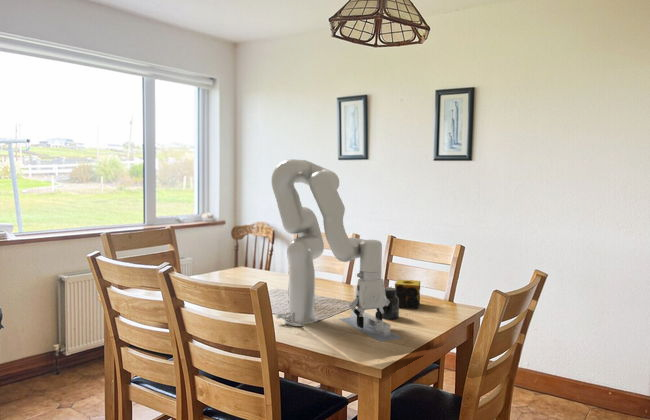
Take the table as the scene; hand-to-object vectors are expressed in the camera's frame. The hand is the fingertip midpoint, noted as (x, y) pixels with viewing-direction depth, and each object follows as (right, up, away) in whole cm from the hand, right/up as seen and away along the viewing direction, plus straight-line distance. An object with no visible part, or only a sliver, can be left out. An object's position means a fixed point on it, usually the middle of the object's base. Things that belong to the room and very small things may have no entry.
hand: (369, 325), depth 183 cm
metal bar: (0, -1, 0) cm, 1 cm away
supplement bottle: (+9, -1, +14) cm, 16 cm away
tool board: (0, -2, 0) cm, 2 cm away
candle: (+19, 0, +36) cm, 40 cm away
